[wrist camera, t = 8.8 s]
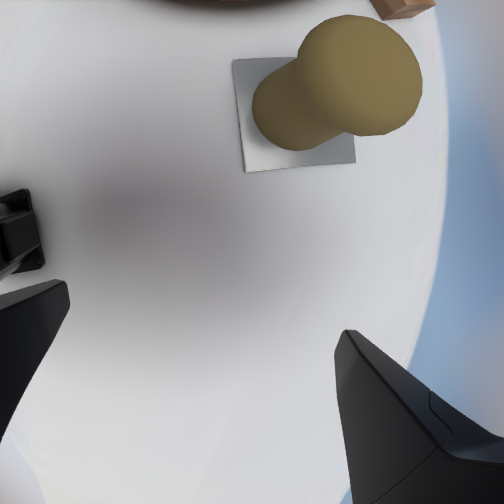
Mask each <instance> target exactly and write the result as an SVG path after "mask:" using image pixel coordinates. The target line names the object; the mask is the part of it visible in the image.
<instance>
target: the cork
mask: <svg viewBox="0 0 504 504" xmlns="http://www.w3.org/2000/svg"><path fill="white" fill-rule="evenodd" d="M421 96H422V75H421V71H420V67H419V63H418V61H417V59H416V57H415V55H414V53H413V51H412V50H411V48H410V47H409V45H408V44H407V43H406V42H405V41H404V39H403V38H402V37H401V36H400V35H399V34H398V33H396V32H395V31H394V30H393V29H391V28H390V27H389V26H387V25H386V24H384V23H381V22H379V21H377V20H374V19H372V18H368V17H363V16H355V15H343V16H338V17H334V18H330V19H328V20H325V21H323V22H322V23H320V24H319V25H318V26H316V27H315V28H313V29H312V30H311V31H310V32H309V33H308V34H307V36H306V37H305V39H304V41H303V43H302V44H301V46H300V48H299V50H298V56H297V58H296V59H294V60H292V61H290V62H289V63H287V64H285V65H284V66H282V67H280V68H279V69H277V70H276V71H274V72H272V73H271V74H269V75H268V76H267V77H266V78H265V79H263V80H262V81H261V82H260V83H259V85H258V87H257V89H256V90H255V92H254V94H253V101H252V112H253V117H254V121H255V123H256V125H257V127H258V129H259V130H260V132H261V133H262V134H263V135H264V136H265V137H266V138H267V139H268V140H269V141H270V142H271V143H273V144H275V145H277V146H279V147H281V148H283V149H287V150H293V151H303V150H310V149H312V148H314V147H316V146H318V145H320V144H322V143H324V142H326V141H328V140H330V139H332V138H334V137H336V136H338V135H340V134H342V133H344V132H346V133H350V134H354V135H357V136H372V135H385V134H387V133H389V132H391V131H393V130H396V129H398V128H400V127H401V126H403V125H405V124H406V122H407V121H408V120H409V119H410V118H411V117H412V116H413V115H414V113H415V111H416V109H417V107H418V104H419V101H420V98H421Z"/></svg>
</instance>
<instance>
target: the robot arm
mask: <svg viewBox="0 0 504 504" xmlns="http://www.w3.org/2000/svg"><path fill="white" fill-rule="evenodd" d="M23 193H24V195H25V197H23ZM38 260H39V261H40V264H39V263H38ZM44 265H45V260H44V257H43V253H42V249H41V246H40V240H39V236H38V232H37V228H36V223H35V218H34V214H33V211H32V206H31V200H30V194H29V191H28V190H27V189H21V190H18V191H15V192H13V193H10V194H7V195H5V196H2V197H0V281H1V280H3V279H4V278H5V277H7V276H8V275H11V274H16V273H21V272H26V271H32V270H37V269H41V268H42V267H43V266H44ZM69 308H70V299H69V293H68V287H67V284H66V282H65V281H62V280H58V279H54V280H50V281H47V282H43V283H40V284H36V285H33V286H29V287H26V288H22V289H19V290H16V291H12V292H9V293H6V294H2V295H0V443H1V440H2V437H3V435H4V433H5V431H6V428H7V426H8V424H9V422H10V420H11V418H12V416H13V414H14V412H15V410H16V407H17V405H18V403H19V401H20V400H21V398H22V396H23V394H24V392H25V390H26V388H27V386H28V384H29V382H30V381H31V379H32V377H33V375H34V373H35V372H36V370H37V368H38V366H39V365H40V363H41V361H42V359H43V358H44V356H45V354H46V353H47V351H48V349H49V348H50V346H51V344H52V342H53V340H54V338H55V336H56V334H57V332H58V330H59V328H60V326H61V324H62V322H63V320H64V318H65V316H66V314H67V313H68V311H69ZM334 361H335V375H336V392H337V401H338V407H339V413H340V418H341V424H342V430H343V436H344V443H345V449H346V456H347V463H348V470H349V477H350V485H351V493H352V501H353V504H504V438H503V437H499V436H496V435H494V434H492V433H490V432H488V431H487V430H486V429H484V428H483V427H481V426H480V425H478V424H477V423H475V422H474V421H472V420H471V419H469V418H468V417H466V416H465V415H463V414H462V413H461V412H459V411H458V410H456V409H455V408H453V407H452V406H451V405H449V404H448V403H447V402H445V401H444V400H443V399H441V398H440V397H439V396H438V395H437V394H435V393H434V392H433V391H430V389H429V388H428V387H426V386H425V385H424V384H423V383H422V382H420V381H419V380H418V379H416V378H415V377H414V376H413V375H412V374H410V373H409V372H408V371H407V370H405V369H404V368H403V367H402V366H400V365H399V364H398V363H397V362H395V361H394V360H393V359H392V358H390V357H389V356H388V355H387V354H385V353H384V352H383V351H382V350H380V349H379V348H378V347H377V346H375V345H374V344H373V343H372V342H370V341H369V340H368V339H367V338H365V337H364V336H363V335H362V334H360V333H359V332H358V331H356V330H347V329H346V330H344V331H343V332H342V334H341V336H340V339H339V341H338V344H337V347H336V349H335V353H334Z"/></svg>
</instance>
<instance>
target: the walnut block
mask: <svg viewBox="0 0 504 504" xmlns="http://www.w3.org/2000/svg"><path fill="white" fill-rule="evenodd" d="M370 2H371V3H372V5H373V6H374V8H375V9H376V11H377V13H378V14H379V16H380V18H381V19H382V21H383V20H391V19H401V18H412V17H414V16H416V15H417V14H419V13H421V12H423V11H425V10H427V9H429V8H431V7H433V6H435V5H436V3H435V2H434V0H370Z"/></svg>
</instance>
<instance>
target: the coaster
mask: <svg viewBox="0 0 504 504" xmlns="http://www.w3.org/2000/svg"><path fill="white" fill-rule="evenodd" d="M294 59H296V58H290V57H286V58H252V59H237V60H233V61H232V68H233V76H234V84H235V92H236V101H237V109H238V117H239V125H240V133H241V142H242V150H243V158H244V166H245V172H254V171H262V170H272V169H281V168H292V167H303V166H315V165H329V164H345V163H356V157H355V146H354V136H353V134H350V133H346V132H344V133H342V134H340V135H338V136H336V137H334V138H332V139H330V140H328V141H326V142H324V143H322V144H320V145H318V146H316V147H314V148H312V149H310V150H303V151H293V150H287V149H283V148H281V147H279V146H277V145H275V144H273V143H271V142H270V141H269V140H268V139H267V138H266V137H265V136H264V135H263V134H262V133H261V132H260V130H259V129H258V127H257V125H256V123H255V121H254V117H253V112H252V101H253V94H254V92H255V90H256V89H257V87H258V85H259V83H260V82H261V81H262V80H263V79H265V78H266V77H267V76H268V75H269V74H271V73H272V72H274V71H276V70H277V69H279V68H280V67H282V66H284V65H285V64H287V63H289V62H290V61H292V60H294Z"/></svg>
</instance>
